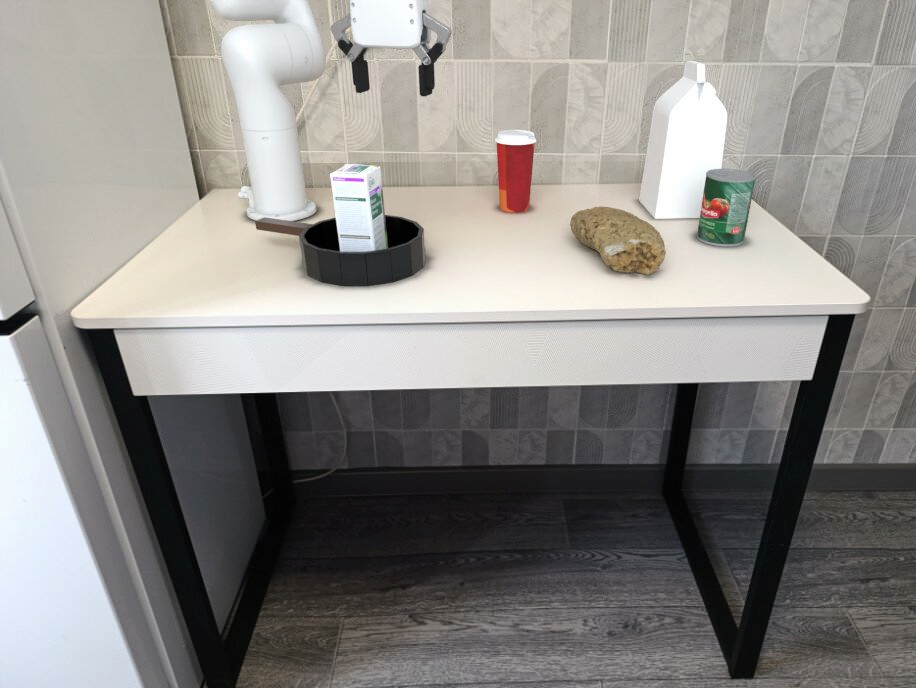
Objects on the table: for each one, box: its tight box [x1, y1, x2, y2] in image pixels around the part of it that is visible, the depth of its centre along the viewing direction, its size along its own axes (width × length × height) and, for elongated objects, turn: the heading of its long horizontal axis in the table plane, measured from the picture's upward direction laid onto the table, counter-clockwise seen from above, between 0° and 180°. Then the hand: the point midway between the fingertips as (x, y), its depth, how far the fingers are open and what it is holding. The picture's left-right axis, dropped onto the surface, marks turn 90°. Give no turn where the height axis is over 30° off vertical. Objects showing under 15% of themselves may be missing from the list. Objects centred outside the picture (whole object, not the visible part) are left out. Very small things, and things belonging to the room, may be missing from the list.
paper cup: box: [494, 129, 537, 214], centre depth 130 cm, size 8×8×14 cm
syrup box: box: [329, 163, 388, 252], centre depth 104 cm, size 6×6×14 cm
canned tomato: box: [696, 168, 757, 248], centre depth 116 cm, size 8×8×11 cm
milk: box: [638, 60, 728, 220], centre depth 128 cm, size 12×12×26 cm
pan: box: [254, 214, 426, 287], centre depth 108 cm, size 28×18×5 cm, turn 68°
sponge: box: [569, 206, 667, 276], centre depth 110 cm, size 13×8×20 cm
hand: (394, 93), depth 98 cm, fingers open, 9 cm apart
